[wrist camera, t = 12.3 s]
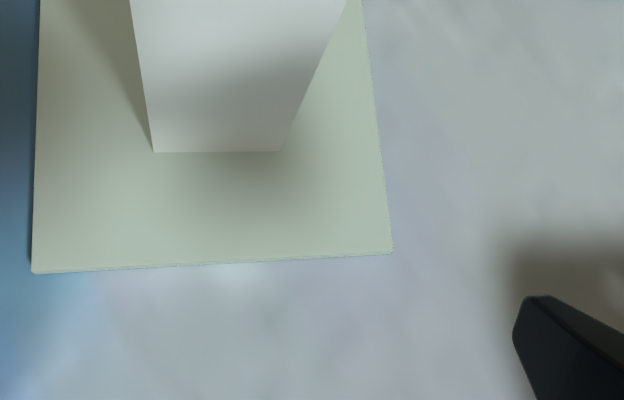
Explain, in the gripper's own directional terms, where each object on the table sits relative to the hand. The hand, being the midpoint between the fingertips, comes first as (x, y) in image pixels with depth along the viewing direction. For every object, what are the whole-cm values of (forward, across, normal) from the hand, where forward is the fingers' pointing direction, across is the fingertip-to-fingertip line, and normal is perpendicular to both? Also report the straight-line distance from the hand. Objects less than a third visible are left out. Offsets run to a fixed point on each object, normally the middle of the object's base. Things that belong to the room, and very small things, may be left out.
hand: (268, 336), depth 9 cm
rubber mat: (+14, 0, +1) cm, 14 cm away
